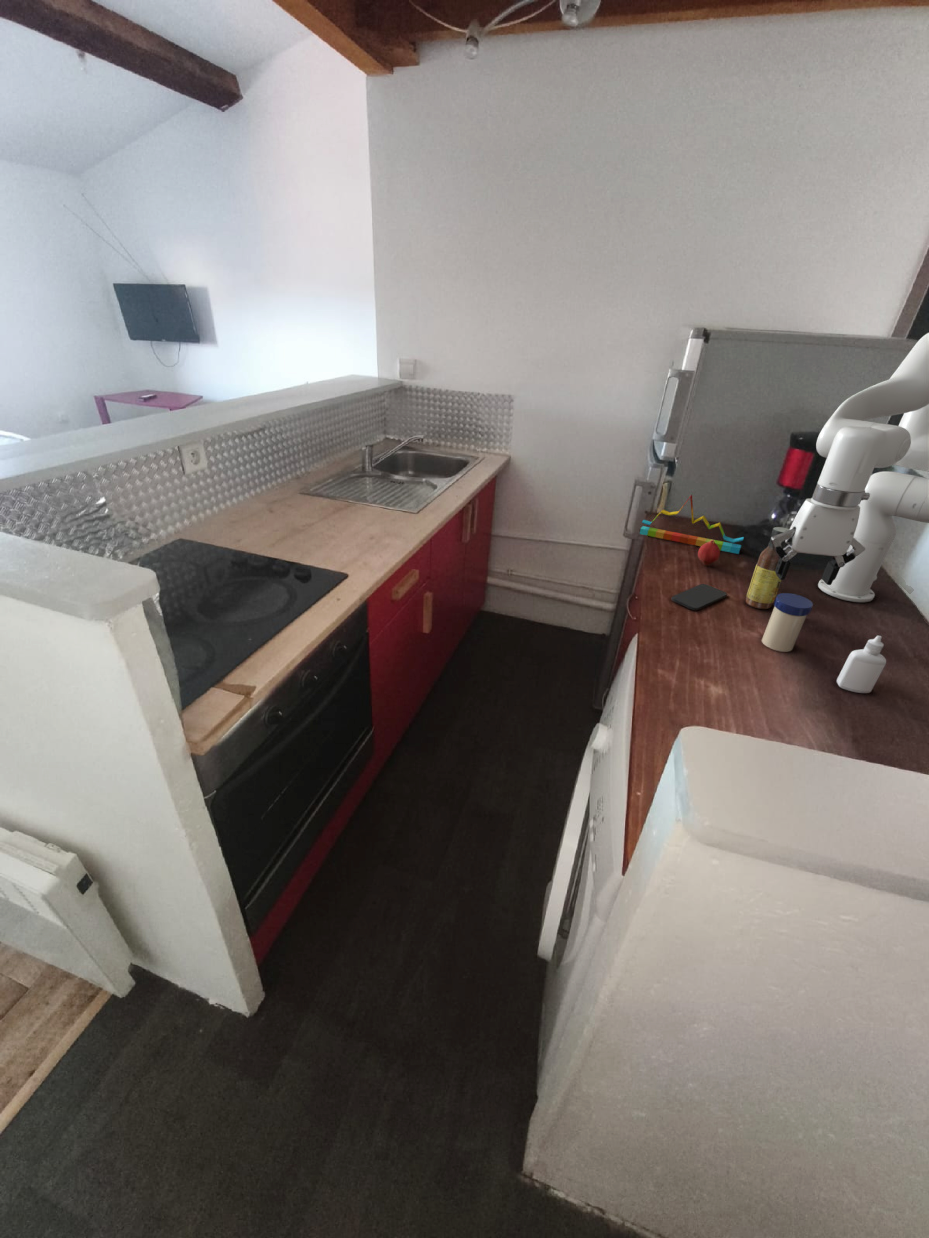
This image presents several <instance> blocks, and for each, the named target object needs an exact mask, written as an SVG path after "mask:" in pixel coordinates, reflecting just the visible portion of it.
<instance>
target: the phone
mask: <svg viewBox="0 0 929 1238" xmlns="http://www.w3.org/2000/svg"><path fill="white" fill-rule="evenodd" d="M727 596H728V593H727V592H726V591H723V590H721V589H718V588H716V587H714V586H711V585H709V584H706V583H701V584H698V585H695V586H694V587H691V588H688V589H687V590H684V591H681V592H679V593H677V594H674V595H673V596H671V601H672V602H674V603H676V604H679V605H681V606H683V607H685V608H687V609H689V610H691V611H699V610H701V609H703V608H706V607H708V606H710V605H712V604H714V603H717V602H718V601H721V600H723V599H724V598H726V597H727Z"/></svg>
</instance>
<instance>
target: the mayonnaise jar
mask: <svg viewBox="0 0 929 1238" xmlns="http://www.w3.org/2000/svg"><path fill="white" fill-rule="evenodd" d="M807 616H808V615H806V616H795V615H790V614H787V613H784V612H782V611H780V610H778V609H777V608H776V607H775V606H773V609H772V612H771V615H770V617H769V619H768V622H767V625H766V627H765V631H764V633H763V636H762V637H761V643H762V644H763V645H764V646H765V647H767V648H769V649H771V650H773V651H777V652H782V653H787V652H791V651H793V649H794V647H795V645H796V643H797V640H798V637H799V636H800V633H801V631H802V629H803V626H804V624H805V621H806V619H807Z"/></svg>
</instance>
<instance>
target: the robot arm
mask: <svg viewBox="0 0 929 1238" xmlns="http://www.w3.org/2000/svg"><path fill="white" fill-rule="evenodd" d="M901 414H903V415H902V417H901V419H900V421H899V424H898V425H895V424H890V423H889V424H888V423H881V422H875V421H869V420H871V419H876V418H884V417H891V416H897V415H901ZM815 448H816V452H817V453H818V454H819V456H821V457H823V458H825V462H824V465H823V467H822V470H821V473H820V475H819V478H818V481H817V483H816V486H815V488H814V490H813V493H812V496H811V498H806V499H805V500H804V502H803V503H802V505H801V506H800V508H799V510H798V512H797V513H796V515H795V516H794V518H793V521H792V523H791V525H790V527H789V528H788V529H789V530H788V531H786V532H783V533H781V534H778V535H776V536H773V537H772V536H771V537H772V538H771V537H770V540H771V542H772V544H773V547H774V550H775V551H776V552H777V554H778V555H779V557H780V558H779V561H778V564H777V566H776V569H775V573H776V575H777V576H778V578H779V579H780V580H781V581H784V580H785V579H786V577H787V574H788V571H789V570H790V567H791V561H790V560H791V559H792V558H794V557H795V556H797V555H798V554H799V553H800V554H808V555H817V556H826V557H830V558H831V560H829V561H828V562H827V563H826V567H825V568H824V570H823V573H822V576H821V579H820V580H819V581H818V583H817V587H818V588H819V589H820V591H822V592H823V593H824V594H827V595H828V596H830V597H833V598H836V599H839V600H842V601H847V602H851V603H868V602H871V601H873V600H874V598H875V596H876V593H875V592H874V591H873V590H872V589H871V587H872V585H873V583H874V582H876V581H877V579H878V574H879V571H880V570H881V567H882V565H883V562H884V561H885V558H886V557H887V555H888V552H889V550H890V548H891V547H892V545H893V542H894V541H895V538H896V535H897V527H896V526H897V525H896V523H895V521H894V517H898V518H902V519H906V520H911V521H915V522H919V523H925V524H929V477H924V476H918V475H915V474H908V473H902V472H897V471H888V470H887V471H886V470H885V471H878V472H875V473H873V472H874V469H876V468H877V469H884V468H889V467H891V466H897V467H901V468H906V469H910V470H911V469H912V470H917V471H922V472H927V473H928V472H929V332H927V333H925V334H924V335H923V336H922V337H921V338H920V339H918V341H917V342H916V343H915V345H914V346H913V347H912V349H911V350H910V351H909V352H908V354H907V355H906V356H905V358H904V359H903V360H902V361H901V363H900V364H899V366H898V367H897V368H896V370H895V371H894V372H893V373H892V375H891V376H890V378H888V379H886V380H884V381H880V382H878V383H876V384H874V385H871V386H869V387H867V388H865V389H863V390H861V391H858V392H857V393H855V394H853V395H851V396H849V397H848V398H847V399H845V400H844V401H843V402H842V403H840V405H839V406H838V407H837V408H836V410H835V411H834V412H833V413H832V415H831V416H830V417H829V418H828V420H827V421H826V422H825V424H824V425H823V427H822V429H821V430H820V432H819V434H818V437H817V438H816V443H815ZM782 541H785V542H786V543H787V547H785V548H784V549H783V548H782V546H781V542H782Z"/></svg>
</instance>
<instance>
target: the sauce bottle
mask: <svg viewBox="0 0 929 1238" xmlns="http://www.w3.org/2000/svg"><path fill="white" fill-rule="evenodd" d="M789 529H790V528H787V527H784V526H783V527H782V526H776V527H773V528H772V531H771V537H770V540H769V542H768V546H766V548H764V550H762V551H761V553H760V555H759V557H758V559H757V562H756V565H755V568H754V571H753V573H752V577H751V580H750V583H749V587H748V590H747V593H746V597H745V603H746V604H747V605H748V606H750V607H752V608H755V609H757V610H758V609H760V610H768V609H770V608H771V607H772V606H773V604H774V602H775V599H776V597H777V595H778V592H779V589H780V586H781V583H782V580H780V579H779V578H778V576H777V575H776V573H775V569H776V566H777V564H778V561H779V558H780V557H779V555H778V554H777V552H776V551H775V550H774V547H773V544H772V542H771V538H772V537H773V536H776V535H778V534H781V533H783V532H786V531H788V530H789ZM781 546H782V548H783V549H784V548H785V547H787V546H788V544H787V543H786V542H785V541H782V542H781Z"/></svg>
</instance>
